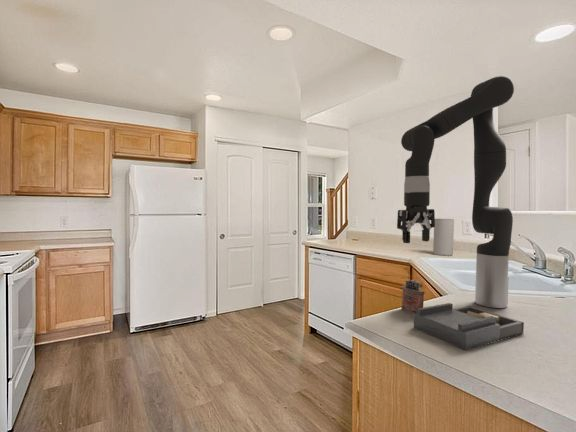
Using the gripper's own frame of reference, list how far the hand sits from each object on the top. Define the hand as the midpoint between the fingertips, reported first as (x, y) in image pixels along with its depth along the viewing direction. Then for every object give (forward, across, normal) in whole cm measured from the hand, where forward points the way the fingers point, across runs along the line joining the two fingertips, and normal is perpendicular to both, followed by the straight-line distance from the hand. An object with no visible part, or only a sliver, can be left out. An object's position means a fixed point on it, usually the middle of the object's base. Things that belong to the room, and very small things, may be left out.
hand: (416, 242), depth 103 cm
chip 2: (+19, -6, +19) cm, 28 cm away
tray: (+22, -4, +19) cm, 29 cm away
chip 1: (+20, -1, +19) cm, 28 cm away
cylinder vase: (+25, -116, -78) cm, 142 cm away
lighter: (+22, +4, +2) cm, 22 cm away
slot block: (+21, +7, +19) cm, 30 cm away
